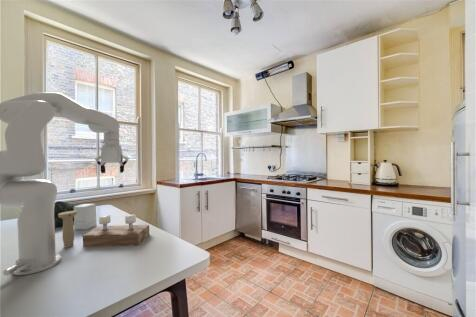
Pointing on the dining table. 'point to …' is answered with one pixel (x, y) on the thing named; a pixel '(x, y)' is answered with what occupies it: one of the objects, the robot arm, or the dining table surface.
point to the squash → (61, 211)
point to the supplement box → (85, 216)
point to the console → (116, 236)
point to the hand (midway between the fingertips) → (112, 172)
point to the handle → (68, 227)
